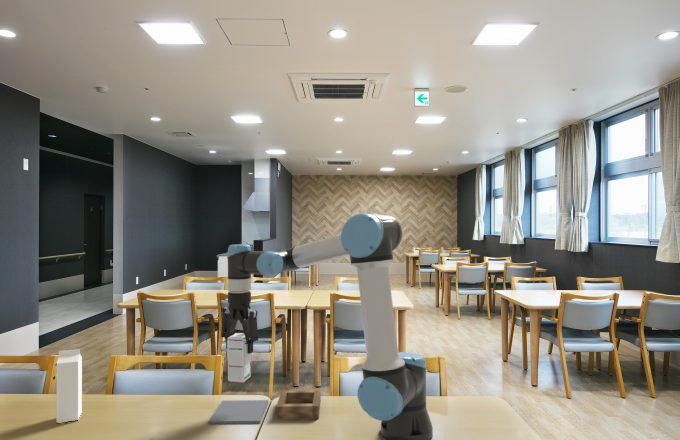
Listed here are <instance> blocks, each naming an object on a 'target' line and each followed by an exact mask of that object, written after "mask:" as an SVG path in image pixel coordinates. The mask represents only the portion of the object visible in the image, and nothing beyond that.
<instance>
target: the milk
mask: <svg viewBox="0 0 680 440" xmlns="http://www.w3.org/2000/svg"><path fill="white" fill-rule="evenodd" d="M55 388H56V405H55V406H56V412H55V413H56V419H55V421H56V422H63V421H71V420H78V419H79V420H80V418H81V416H82V414H81V413H83V357H82V354H81V349H80V348H79V349H68V350H59V351H58V357H57V360H56V387H55ZM80 415H81V416H80ZM79 417H80V418H79ZM79 420H78V421H79Z"/></svg>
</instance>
